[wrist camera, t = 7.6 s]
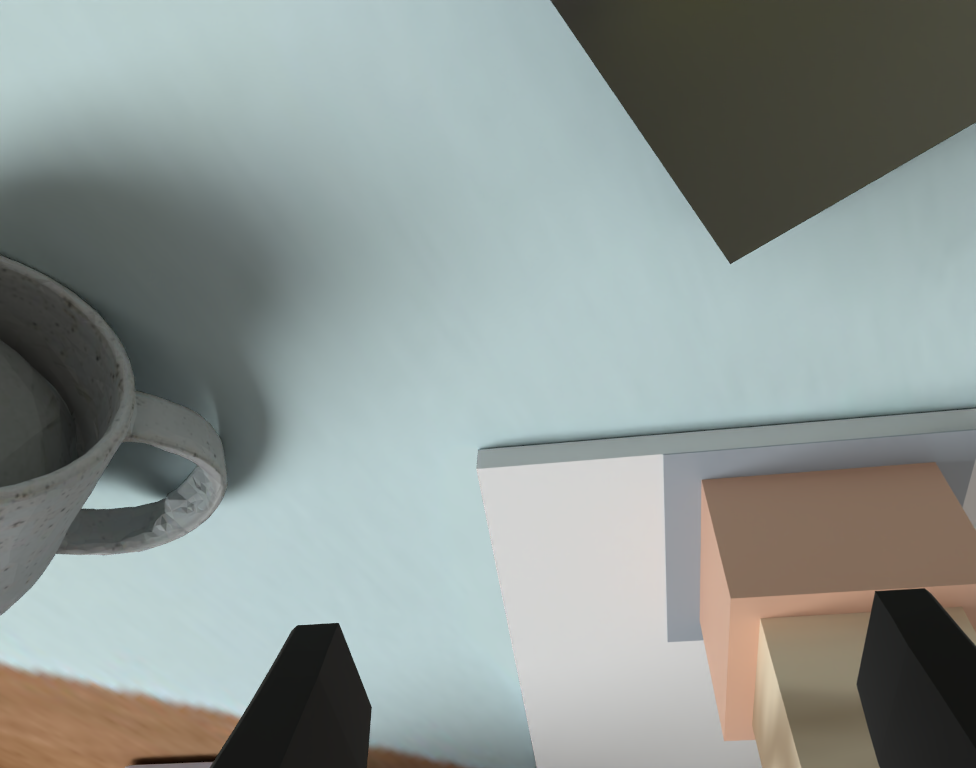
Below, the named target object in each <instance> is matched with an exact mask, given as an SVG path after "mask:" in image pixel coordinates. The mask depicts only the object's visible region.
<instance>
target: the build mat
mask: <svg viewBox="0 0 976 768" xmlns="http://www.w3.org/2000/svg"><path fill="white" fill-rule="evenodd" d="M929 462H936V464H937V466H938V467H939V469H940V471H941V473H942V474H943V476H944V478H945V479H946V481H947V483H948V484H949V486H950V488H951V489H952V491H953V493H954V494H955V496H956V498H957V499H958V501H959V503H960V505H961V506H962V508H963V510H964V511H965V513H966V515H967V516H968V518H969V520H970V521H971V523H972V525H973V526H974V528H975V530H976V409H964V410H952V411H940V412H928V413H915V414H903V415H891V416H879V417H867V418H855V419H843V420H831V421H819V422H807V423H795V424H783V425H770V426H758V427H746V428H734V429H722V430H710V431H698V432H686V433H674V434H662V435H650V436H638V437H625V438H613V439H601V440H589V441H577V442H565V443H553V444H541V445H529V446H517V447H505V448H493V449H480V450H478V455H477V474H478V479H479V484H480V489H481V494H482V499H483V504H484V509H485V514H486V519H487V524H488V529H489V534H490V539H491V543H492V548H493V553H494V558H495V563H496V568H497V573H498V578H499V583H500V588H501V593H502V598H503V603H504V608H505V613H506V618H507V623H508V628H509V633H510V638H511V642H512V647H513V652H514V657H515V662H516V667H517V672H518V677H519V682H520V687H521V692H522V697H523V702H524V707H525V712H526V717H527V722H528V727H529V732H530V737H531V741H532V746H533V751H534V756H535V761H536V766H537V768H762V765H761V761H760V757H759V752H758V748H757V744H756V740H739V741H724V738H723V733H722V728H721V723H720V719H719V714H718V709H717V704H716V699H715V694H714V689H713V684H712V679H711V674H710V669H709V664H708V659H707V655H706V650H705V645H704V640H703V635H702V630H701V625H700V554H701V480H705V479H718V478H732V477H745V476H758V475H771V474H784V473H798V472H811V471H824V470H837V469H850V468H863V467H877V466H890V465H903V464H916V463H929Z"/></svg>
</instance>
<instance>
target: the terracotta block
mask: <svg viewBox="0 0 976 768" xmlns="http://www.w3.org/2000/svg"><path fill="white" fill-rule="evenodd" d="M919 588H925V589H926V590H927V591H929V592H930V593H931V594H932V595H933V596H934V597H935V598H936V600H937V601H938V602H939V603H940V604H941V606H942V607H943V608H948V607H962V608H963V610H964V612H965V613H966V615H967V617H968V619H969V621H970V623H971V625H972V627H973V629H974V631H975V633H976V530H975V528H974V526H973V525H972V523H971V521H970V520H969V518H968V516H967V515H966V513H965V511H964V510H963V508H962V506H961V505H960V503H959V501H958V499H957V498H956V496H955V494H954V493H953V491H952V489H951V488H950V486H949V484H948V483H947V481H946V479H945V478H944V476H943V474H942V473H941V471H940V469H939V467H938V466H937V464H936V462H929V463H916V464H903V465H890V466H877V467H863V468H850V469H837V470H824V471H811V472H798V473H784V474H771V475H758V476H745V477H732V478H718V479H705V480H701V554H700V625H701V630H702V635H703V640H704V645H705V650H706V655H707V659H708V664H709V669H710V674H711V679H712V684H713V689H714V694H715V699H716V704H717V709H718V714H719V719H720V723H721V728H722V733H723V738H724V741H739V740H755V735H754V731H753V727H752V721H753V707H754V694H755V681H756V667H757V654H758V641H759V627H760V618H777V617H794V616H811V615H828V614H846V613H863V612H871V609H872V604H873V599H874V594H875V591H886V590H902V589H919Z"/></svg>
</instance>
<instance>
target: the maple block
mask: <svg viewBox="0 0 976 768" xmlns="http://www.w3.org/2000/svg"><path fill="white" fill-rule="evenodd" d="M944 609H945V610H946V611H947V613H948V614H949V615H950V616H951V617H952V619H953V620H954V621H955V622H956V623H957V624H958V626H959V627H960V628H961V629H962V630H963V631H964V633H965V634H966V635H967V636H968V637H969V638H970V640H971V641H972V642H973V643H974V644H975V645H976V633H975V631H974V629H973V627H972V625H971V623H970V621H969V619H968V617H967V615H966V613H965V612H964V610H963V608H962V607H948V608H944ZM870 614H871V612H863V613H846V614H828V615H811V616H794V617H777V618H760V627H759V641H758V654H757V667H756V681H755V694H754V707H753V721H752V727H753V731H754V735H755V740H756V744H757V748H758V752H759V757H760V761H761V765H762V768H880V767H879V764H878V761H877V758H876V754H875V751H874V747H873V744H872V740H871V737H870V733H869V730H868V726H867V722H866V719H865V715H864V711H863V707H862V704H861V700H860V696H859V692H858V689H857V685H856V683H857V678H858V674H859V669H860V664H861V659H862V654H863V649H864V644H865V639H866V634H867V629H868V624H869V619H870Z"/></svg>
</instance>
